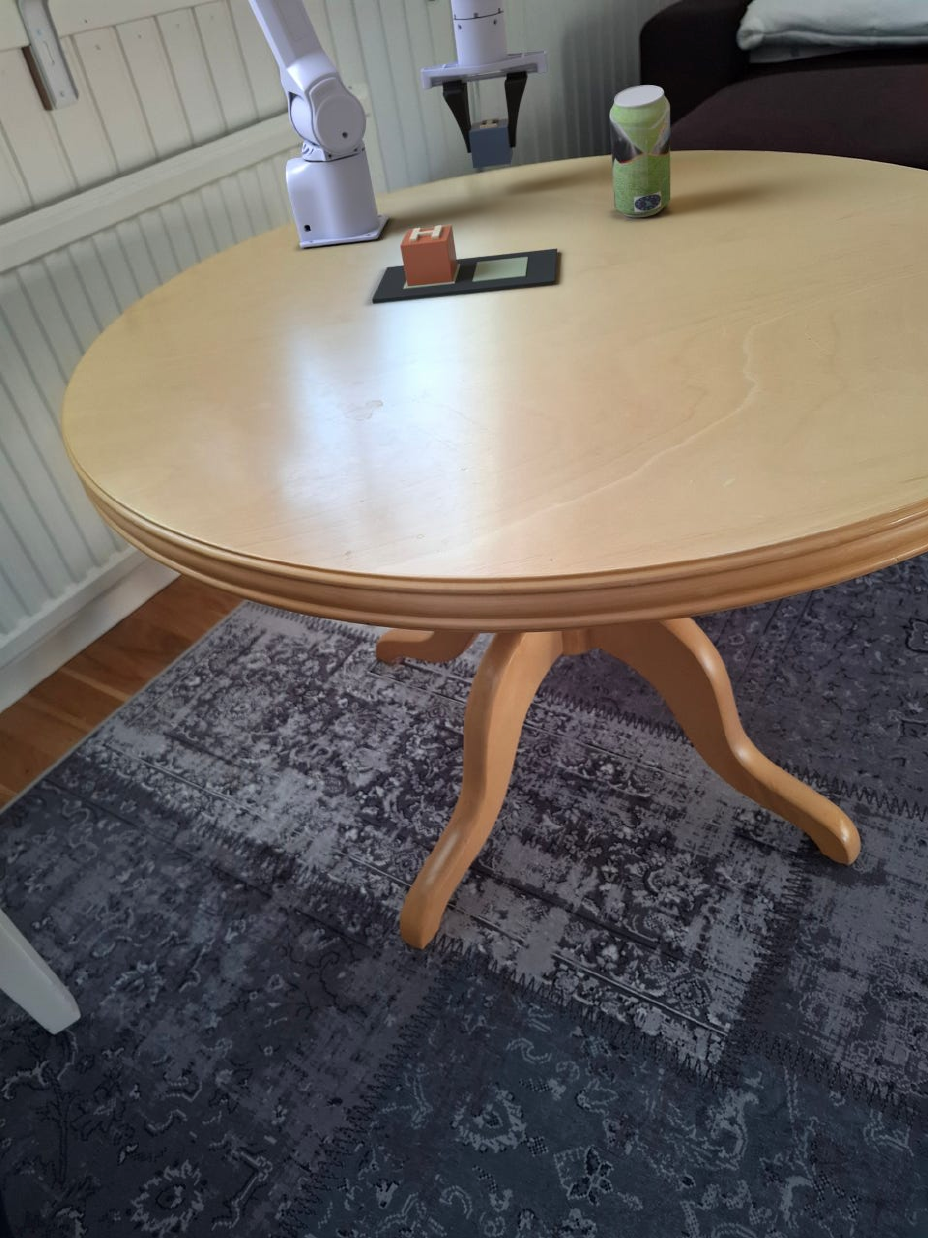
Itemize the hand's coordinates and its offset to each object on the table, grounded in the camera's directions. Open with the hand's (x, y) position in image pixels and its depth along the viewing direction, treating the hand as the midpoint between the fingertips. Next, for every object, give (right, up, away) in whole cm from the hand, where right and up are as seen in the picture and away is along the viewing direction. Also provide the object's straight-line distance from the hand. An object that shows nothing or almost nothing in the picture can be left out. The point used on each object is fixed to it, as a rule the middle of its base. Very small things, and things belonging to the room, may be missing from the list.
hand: (492, 148), depth 108 cm
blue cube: (0, -1, +1) cm, 1 cm away
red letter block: (-7, -22, -18) cm, 30 cm away
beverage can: (+16, -13, -11) cm, 23 cm away
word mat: (-3, -23, -18) cm, 29 cm away
